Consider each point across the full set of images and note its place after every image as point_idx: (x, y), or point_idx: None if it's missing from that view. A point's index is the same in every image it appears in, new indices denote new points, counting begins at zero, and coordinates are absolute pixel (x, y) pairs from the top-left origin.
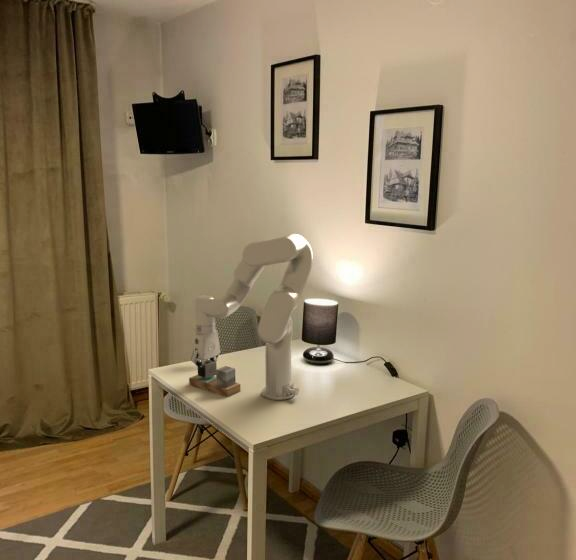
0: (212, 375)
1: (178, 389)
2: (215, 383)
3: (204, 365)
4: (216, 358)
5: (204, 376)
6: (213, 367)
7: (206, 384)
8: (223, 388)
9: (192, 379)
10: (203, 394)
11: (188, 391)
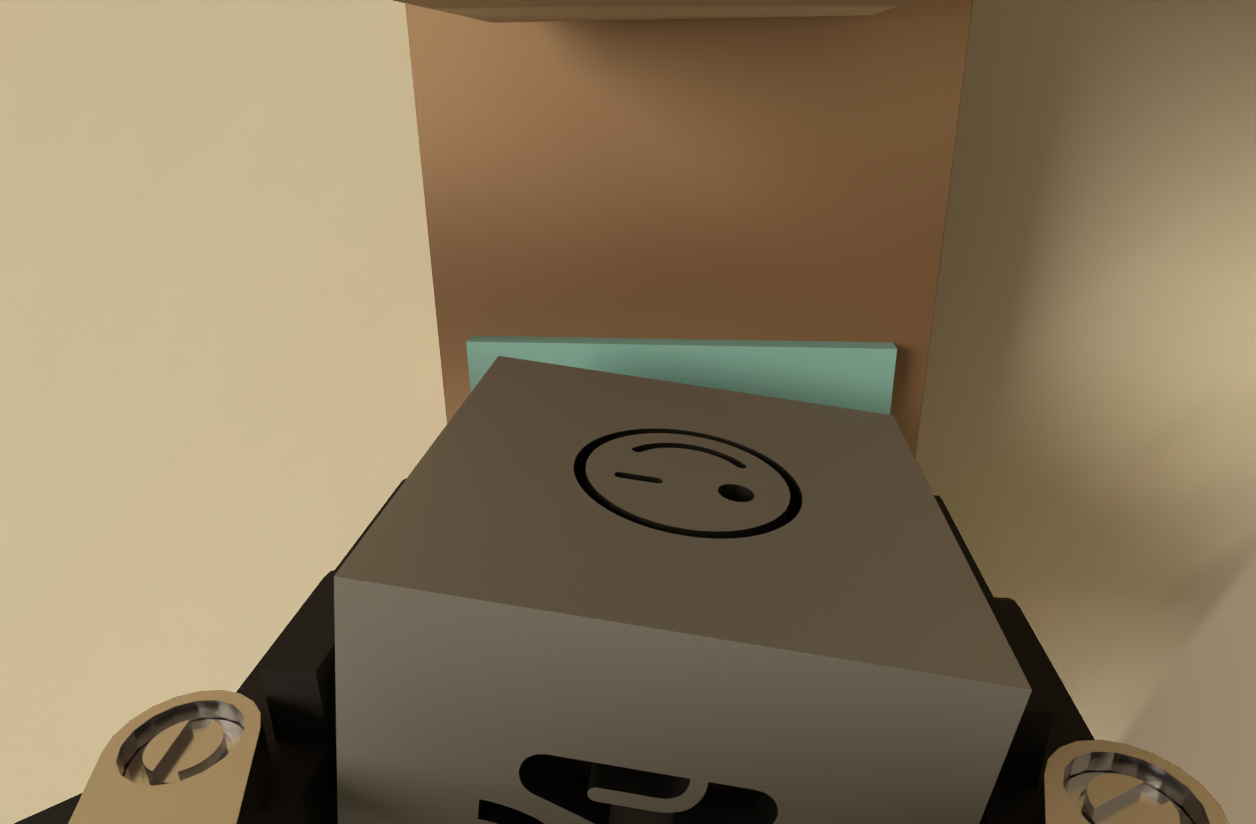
0: (659, 386)
1: (1100, 737)
2: (816, 98)
3: (988, 766)
4: (77, 810)
5: None
6: (568, 497)
7: (923, 316)
8: None
9: None
10: (1104, 187)
11: (1102, 547)
